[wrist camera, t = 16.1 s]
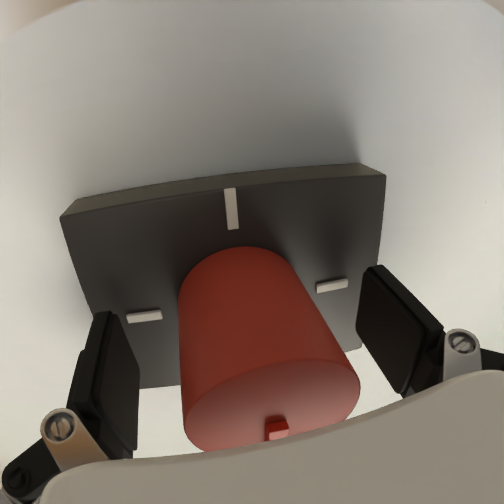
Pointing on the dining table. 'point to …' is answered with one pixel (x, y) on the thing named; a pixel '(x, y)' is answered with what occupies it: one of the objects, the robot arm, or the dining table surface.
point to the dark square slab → (224, 246)
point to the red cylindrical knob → (256, 353)
